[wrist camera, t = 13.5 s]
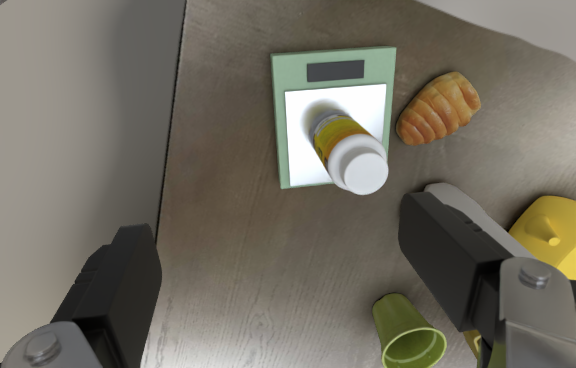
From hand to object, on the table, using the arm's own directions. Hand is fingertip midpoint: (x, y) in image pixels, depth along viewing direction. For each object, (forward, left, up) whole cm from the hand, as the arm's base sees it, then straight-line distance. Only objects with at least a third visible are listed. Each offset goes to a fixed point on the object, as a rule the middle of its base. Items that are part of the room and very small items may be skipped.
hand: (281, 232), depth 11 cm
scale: (+5, +9, -30) cm, 32 cm away
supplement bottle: (+6, +9, -27) cm, 29 cm away
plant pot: (+37, +19, -30) cm, 51 cm away
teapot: (+24, +41, -30) cm, 56 cm away
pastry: (+5, +22, -30) cm, 38 cm away
